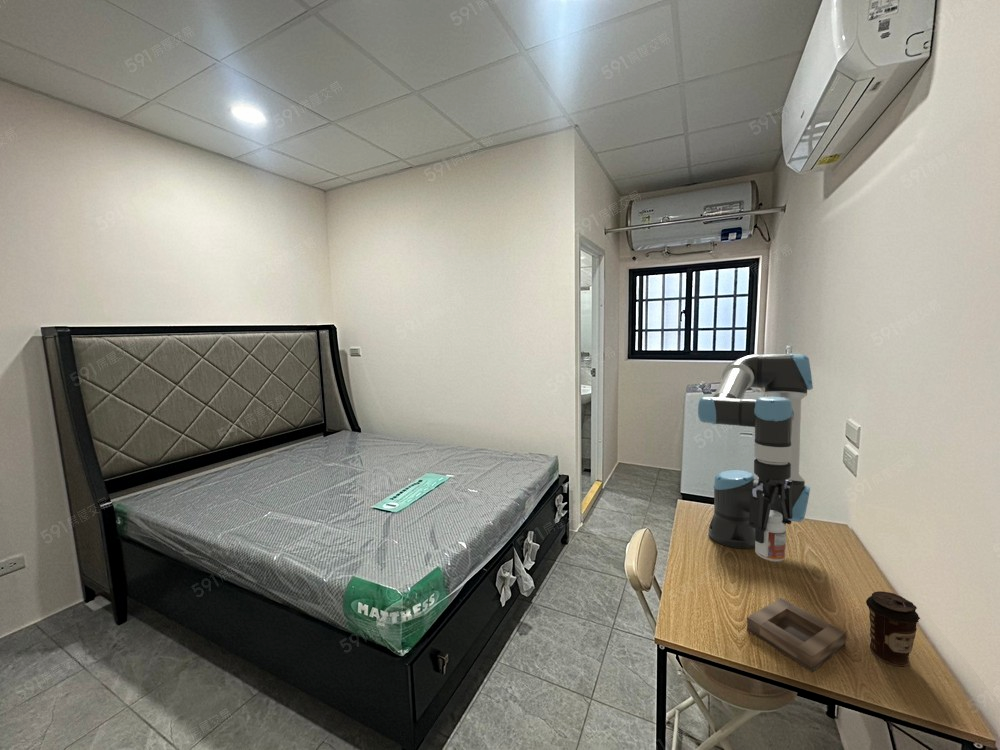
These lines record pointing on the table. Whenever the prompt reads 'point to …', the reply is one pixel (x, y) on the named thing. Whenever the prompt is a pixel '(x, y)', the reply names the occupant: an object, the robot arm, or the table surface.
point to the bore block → (797, 633)
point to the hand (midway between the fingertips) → (770, 550)
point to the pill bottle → (775, 537)
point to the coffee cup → (892, 627)
